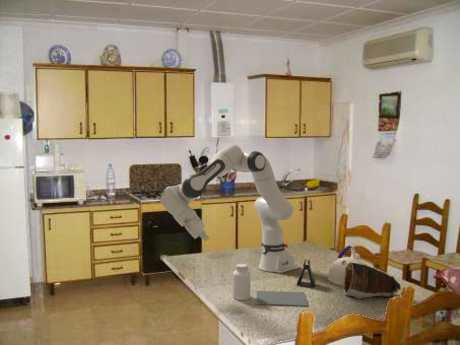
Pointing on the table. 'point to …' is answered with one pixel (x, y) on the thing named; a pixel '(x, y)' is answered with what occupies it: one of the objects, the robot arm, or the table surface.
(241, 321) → the table surface
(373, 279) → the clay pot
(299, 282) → the phone stand
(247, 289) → the pill bottle
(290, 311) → the table surface
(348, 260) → the kettle
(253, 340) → the table surface
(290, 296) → the mat
